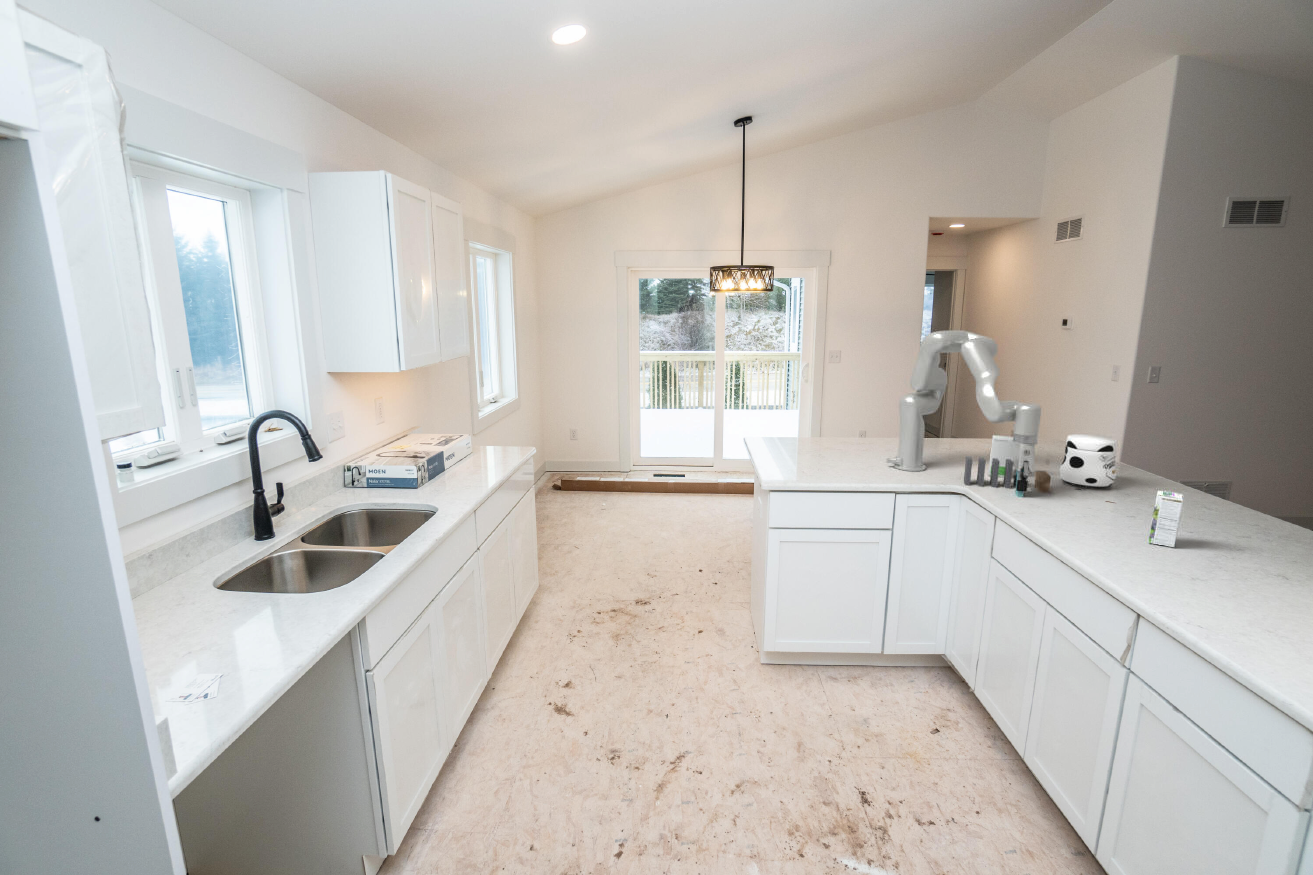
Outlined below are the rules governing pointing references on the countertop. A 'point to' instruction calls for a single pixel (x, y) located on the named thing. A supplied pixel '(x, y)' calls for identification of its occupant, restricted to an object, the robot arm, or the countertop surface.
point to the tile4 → (1008, 473)
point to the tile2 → (981, 471)
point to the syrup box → (1166, 518)
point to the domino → (1018, 493)
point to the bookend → (1042, 481)
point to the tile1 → (968, 471)
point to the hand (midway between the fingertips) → (1019, 488)
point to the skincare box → (1001, 452)
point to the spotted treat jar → (1089, 461)
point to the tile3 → (994, 472)
